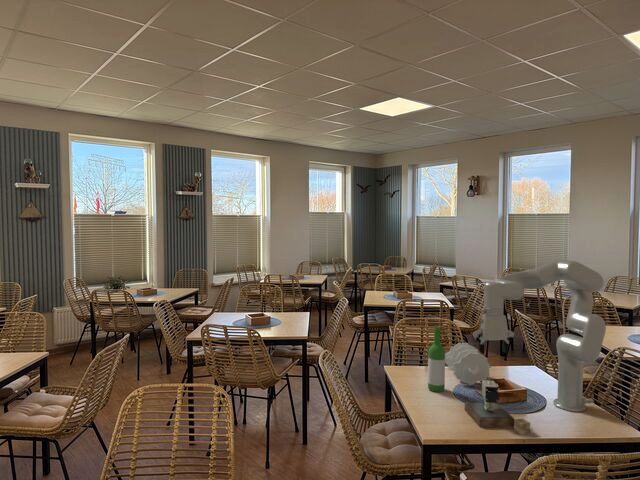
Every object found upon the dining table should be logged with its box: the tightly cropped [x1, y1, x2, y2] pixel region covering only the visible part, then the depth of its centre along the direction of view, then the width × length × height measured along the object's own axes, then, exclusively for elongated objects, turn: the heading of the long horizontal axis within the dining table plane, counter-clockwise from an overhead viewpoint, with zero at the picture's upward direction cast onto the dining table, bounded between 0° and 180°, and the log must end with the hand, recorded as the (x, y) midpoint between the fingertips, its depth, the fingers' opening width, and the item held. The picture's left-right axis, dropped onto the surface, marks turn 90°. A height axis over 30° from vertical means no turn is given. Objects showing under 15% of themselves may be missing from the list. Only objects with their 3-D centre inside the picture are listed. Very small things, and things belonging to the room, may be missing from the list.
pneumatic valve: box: [481, 379, 501, 412], centre depth 185 cm, size 6×12×12 cm, turn 170°
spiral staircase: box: [445, 341, 491, 386], centre depth 231 cm, size 18×18×25 cm
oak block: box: [513, 417, 531, 435], centre depth 173 cm, size 4×4×4 cm
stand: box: [464, 402, 515, 428], centre depth 185 cm, size 14×16×3 cm
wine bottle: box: [427, 326, 446, 393], centre depth 216 cm, size 8×8×30 cm
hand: (493, 352), depth 187 cm, fingers open, 9 cm apart
